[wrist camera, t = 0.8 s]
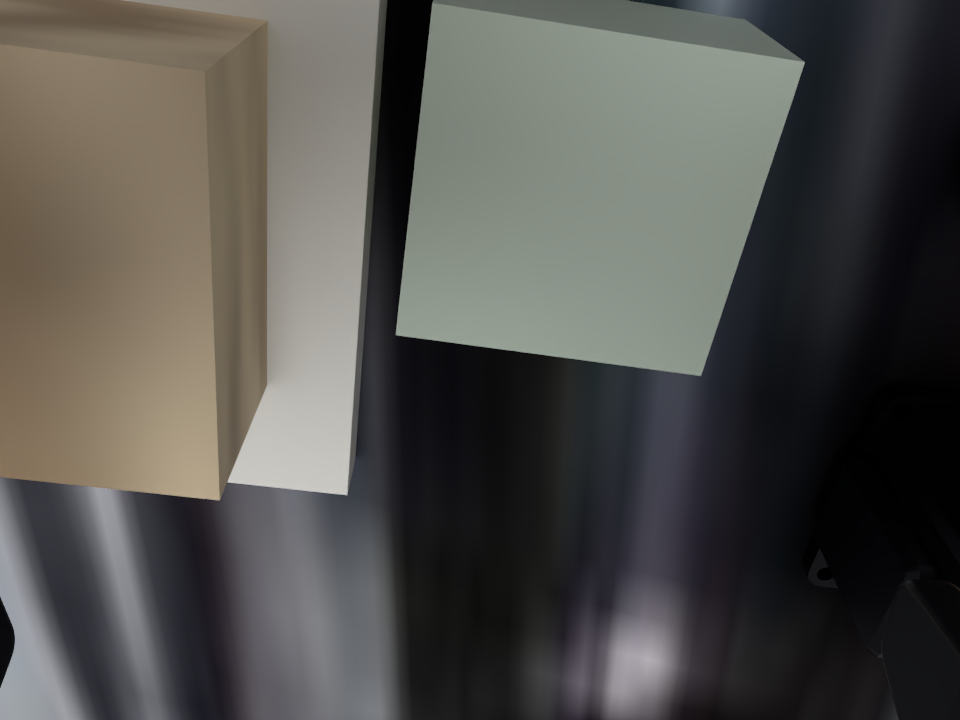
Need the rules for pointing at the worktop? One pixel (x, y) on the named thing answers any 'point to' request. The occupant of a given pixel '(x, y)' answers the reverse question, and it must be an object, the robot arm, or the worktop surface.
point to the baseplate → (313, 233)
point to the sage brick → (587, 176)
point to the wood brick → (131, 243)
